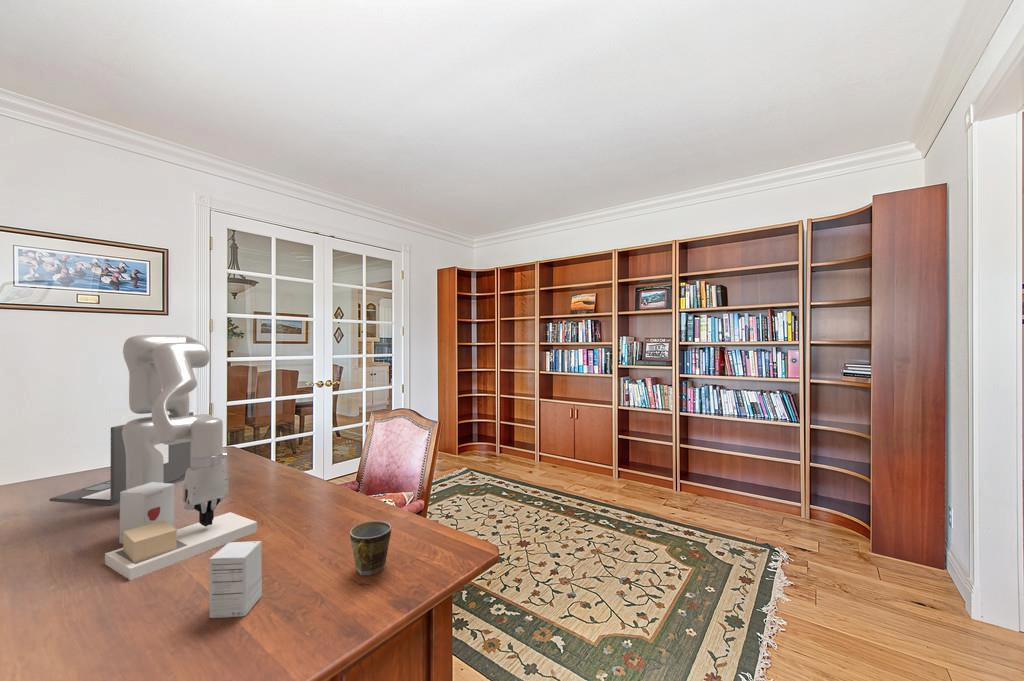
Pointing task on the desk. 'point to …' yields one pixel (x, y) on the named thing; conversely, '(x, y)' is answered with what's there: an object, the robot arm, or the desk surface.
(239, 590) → the supplement box
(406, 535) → the desk surface
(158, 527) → the kraft carton
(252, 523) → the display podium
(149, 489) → the supplement box
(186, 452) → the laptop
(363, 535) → the ceramic cup
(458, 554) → the desk surface
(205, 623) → the desk surface
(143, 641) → the desk surface
